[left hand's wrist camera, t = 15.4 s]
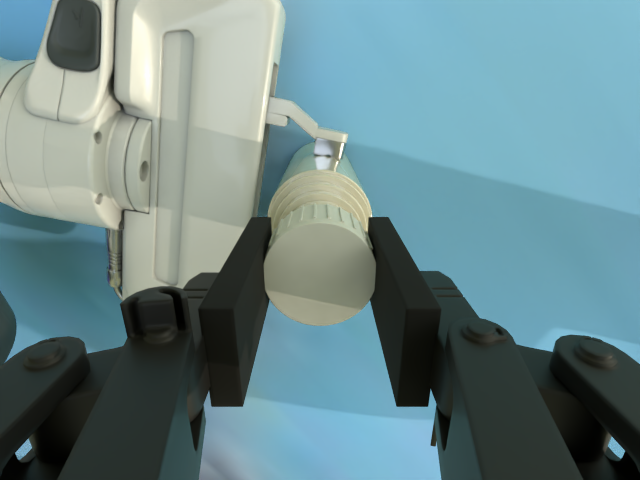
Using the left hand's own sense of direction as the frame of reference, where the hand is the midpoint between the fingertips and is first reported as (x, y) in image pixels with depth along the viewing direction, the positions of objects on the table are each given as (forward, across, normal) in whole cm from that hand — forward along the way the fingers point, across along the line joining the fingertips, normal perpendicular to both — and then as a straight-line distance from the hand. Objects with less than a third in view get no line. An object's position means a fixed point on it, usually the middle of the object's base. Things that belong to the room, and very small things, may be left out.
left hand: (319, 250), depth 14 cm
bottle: (+16, 0, 0) cm, 16 cm away
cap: (-2, 0, 0) cm, 2 cm away
